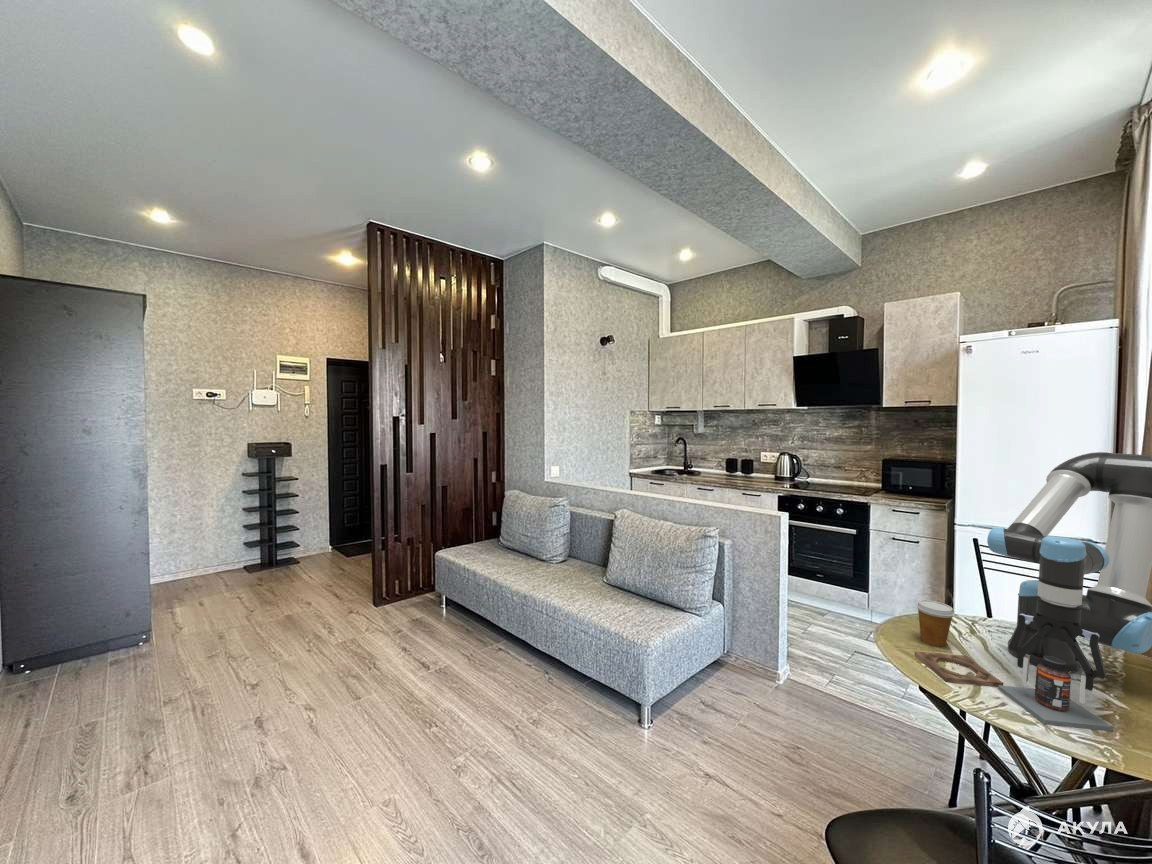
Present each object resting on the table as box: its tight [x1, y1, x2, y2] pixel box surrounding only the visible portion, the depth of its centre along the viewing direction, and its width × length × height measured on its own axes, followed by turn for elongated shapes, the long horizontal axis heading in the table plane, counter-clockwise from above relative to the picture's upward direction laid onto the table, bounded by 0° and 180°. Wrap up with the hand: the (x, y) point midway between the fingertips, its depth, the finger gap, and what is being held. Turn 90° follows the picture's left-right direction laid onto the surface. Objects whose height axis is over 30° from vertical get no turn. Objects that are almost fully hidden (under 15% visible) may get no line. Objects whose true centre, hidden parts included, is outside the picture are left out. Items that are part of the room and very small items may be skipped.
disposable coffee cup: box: [915, 599, 955, 648], centre depth 146 cm, size 10×10×12 cm
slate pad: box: [997, 685, 1114, 732], centre depth 113 cm, size 14×14×1 cm
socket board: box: [914, 651, 1004, 688], centre depth 130 cm, size 14×14×1 cm
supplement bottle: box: [1034, 656, 1072, 711], centre depth 113 cm, size 6×6×11 cm
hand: (1052, 690), depth 113 cm, fingers open, 9 cm apart
